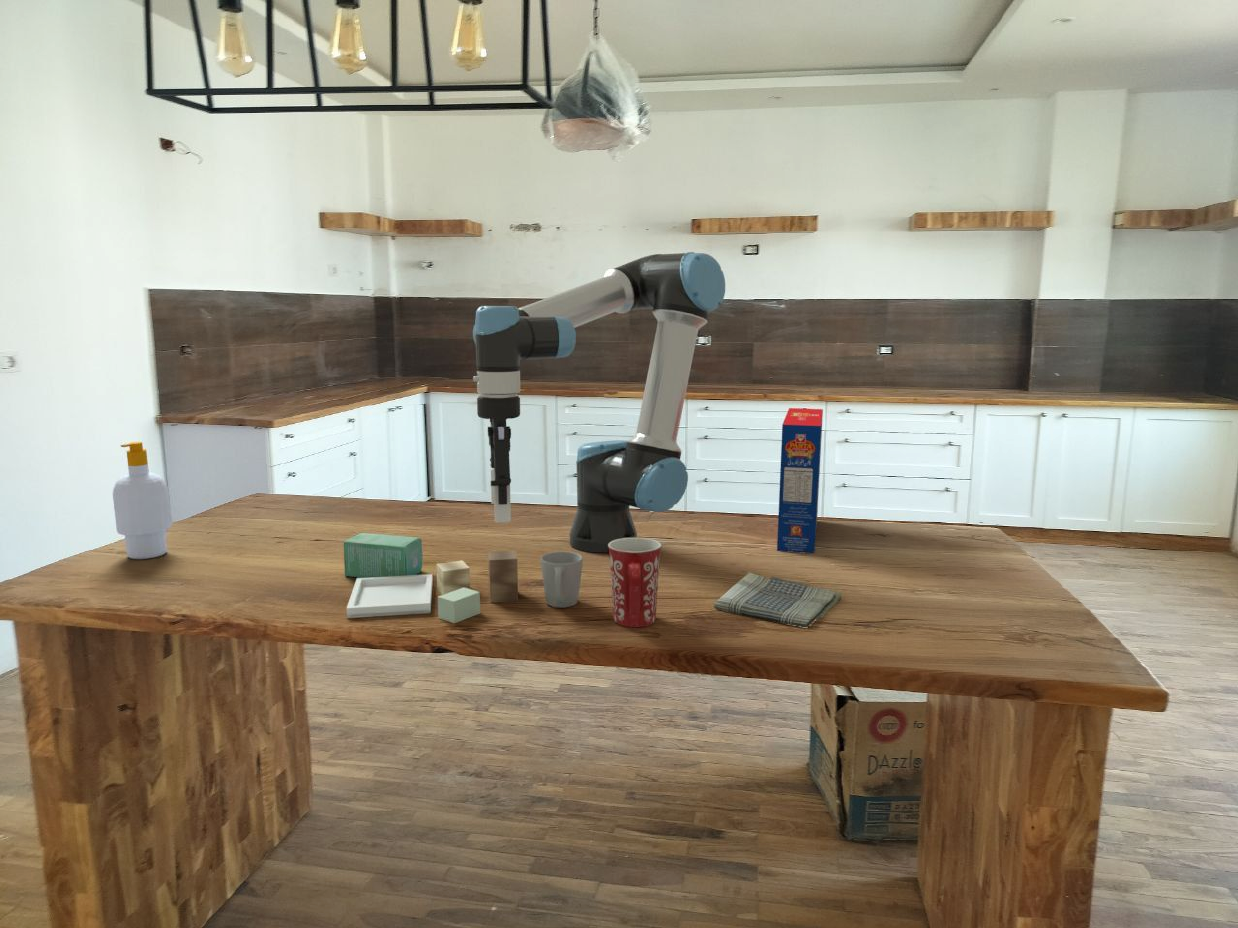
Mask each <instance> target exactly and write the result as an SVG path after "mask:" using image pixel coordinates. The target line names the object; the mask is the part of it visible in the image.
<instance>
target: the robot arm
mask: <svg viewBox="0 0 1238 928" xmlns="http://www.w3.org/2000/svg"><path fill="white" fill-rule="evenodd" d="M725 295H726V279H725V275H724V271H723V269H722V267H721V264H720V263H719V262H718V261H717V259H716V258H714V257H713V256H712V255H710V254H708V253H704V252H693V251H689V252H688V251H687V252H682V253H681V252H680V253H664V254H663V253H655V254H650V255H646V256H643V257H640V258H638V259H635V260H632V261H629V262H627V263H625V264H622V265H620V266H617V267H615V268H612V269H608V270H607V271H606V272H604V275H603V277H602V278H599V279H596V280H593V281H590V282H587V283H585V284H581V285H579V286H576V287H574V288H571V289H568V290H565V291H563V292H560V293H557V294H554V295H551V296H548V297H546V298H543V299H541V300H538V301H537V300H536V302H533V303H530V304H527V305H525V306H524V305H523V306H521V307H517V306H513V305H511V306H510V305H481V306H479V307H478V308H477V309H476V311H475V319H474V320H475V321H474V323H475V324H474V325H473V329H472V339H473V341H474V344H475V359H476V360H475V362H476V364H475V365H476V374H477V375H475V376H473V377H472V381H473V382H477V383H476V390H477V391H476V392H477V393H478V394H479V396H477V398H476V405H477V407H476V408H477V409H476V411H477V412H476V413H477V416H478V418H480V419H485V420H489V422H490V426H487V437H488V446H490V458H489V462H490V468H491V469H490V487H491V488H490V490H491V491H490V492H491V493H490V494H491V496H490V497H491V498H490V499H491V505H494V507H493V508H494V523H511V522H512V521H511V519H512V518H511V517H512V515H511V513H512V512H511V511H512V510H511V483H512V479H511V470H510V469H511V468H510V467H511V466H510V464H511V463H510V451H511V439H512V428H511V426H508V425H507V420H508V419H509V420H511V419H516V418H519V417H520V415H521V397H520V396H519V395H518V394H520V393H521V367H520V365H521V363H520V362H521V361H524V360H540V359H541V360H543V359H544V360H545V359H553V360H556V359H560V358H566V357H568V356H569V355H571V354H572V353H573V351H574V349H575V346H576V342H577V340H576V339H577V338H576V336H577V333H576V329H575V328H578V327H580V326H583V325H585V324H587V323H589V322H592V321H594V320H598V319H599V318H602V317H605V316H607V315H610V314H613V313H617V314H626V313H629V312H632V311H636V310H646V309H647V310H649V309H650V310H652V315H653V316H654V317H655V319H656V321H657V325H656V330H655V335H654V339H653V340H654V341H653V345H652V350H651V356H650V362H649V367H648V371H647V376H646V381H645V387H644V392H643V397H642V403H641V406H640V411H639V412H640V413H639V418H638V422H637V427H636V432H635V434H634V435H633V436H632V437H631V438H629V439H628V440H624V439H623V440H619V439H618V440H604V441H603V440H602V441H596V442H595V441H594V442H587V443H583V444H581V445H580V446H579V447H578V449H577V457H576V462H575V463H576V497H577V498H576V500H577V503H576V504H577V505H576V507H577V509H576V513H575V517H574V518H573V522H572V525H571V529H570V531H569V546H571V547H572V548H574V549H577V550H580V551H585V552H589V553H590V552H591V553H609V548H608V544H609V543H610V542H611V541H614V540H617V539H622V538H638V533H637V530H636V526H635V522H634V520H633V516H632V514H631V511H630V507H633V508H638V509H640V510H641V511H645V512H646V511H647V512H655V513H663V512H666V511H669V510H670V509H673V507H674V506H675V505H678V503H679V502H680V500H682V498H683V496H684V495H685V492H686V489H687V487H688V481H689V473H688V471H687V466H686V465H685V463H684V462H682V460H681V457H682V449H681V448H680V446H679V444H678V442H677V439H678V434H679V429H680V424H681V420H682V419H681V418H682V415H683V414H682V413H683V408H684V403H685V400H686V399H685V398H686V394H687V389H688V385H689V379H690V373H691V369H692V368H691V367H692V363H693V358H694V353H695V348H696V343H697V338H698V332H699V330H700V329H701V328H702V327H704V326H706V324H708V320H709V314H710V312H713V311H715V310H716V309H718V308H719V306H720V305H721V304H722V303H723V301H724V299H725Z"/></svg>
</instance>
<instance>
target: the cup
mask: <svg viewBox="0 0 1238 928" xmlns="http://www.w3.org/2000/svg"><path fill="white" fill-rule="evenodd" d="M583 559H584V557H583V556H582V555H581V554H580V553H578V552H573V551H552V552H548V553H544V554H543V555H541V557H540V565H541V575H542V576H541V577H542V582H543V589H544V594H545V595H544V596H545V601H546V604H547V605H548V606H550V607H553V608H561V609H563V608H564V609H565V608H566V609H567V608H572V607H573V606H575V605H577V603H578V601H579V595H580V590H581V589H580V586H581V581H582V572H583Z"/></svg>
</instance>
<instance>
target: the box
mask: <svg viewBox="0 0 1238 928" xmlns="http://www.w3.org/2000/svg"><path fill="white" fill-rule="evenodd" d="M422 542H423V541H422V539H421V538H420V537H414V536H406V535H405V536H403V535H394V534H393V535H392V534H380V533H368V532H361V533H358V534H357V535H354V536H352V537H350V538H348V539H346V540H344V541H343V553H344V554H343V555H344V557H343V558H344V559H343V560H344V561H343V562H344V576H345V577H352V578H353V577H354V578H371V577H390V576H408V575H419V574H420V573H421V572H422V569H423V545H422V544H423V543H422Z"/></svg>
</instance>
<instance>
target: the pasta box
mask: <svg viewBox="0 0 1238 928" xmlns="http://www.w3.org/2000/svg"><path fill="white" fill-rule="evenodd" d="M823 413H824V410H823V409H822V408H803V407H802V408H797V407H795V408H794V407H793V408H792V407H789V408H788V410H787V412H786V415H785V417H784V419H783V423H782V427H781V447H780V450H781V451H780V470H779V471H780V472H779V492H778V493H779V494H778V495H779V496H778V518H777V521H778V523H777V539H776V542H777V543H776V544H777V545H776V551H777V552H787V551H793V552H792V553H800V552H805V554H815V553H816V552H815V550H816V537H817V525H818V513H819V510H818V509H819V492H820V491H819V490H820V489H819V488H820V475H821V474H820V473H821V470H820V469H821V455H822V454H821V452H822V436H823V435H822V434H823V433H822V432H823Z"/></svg>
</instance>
